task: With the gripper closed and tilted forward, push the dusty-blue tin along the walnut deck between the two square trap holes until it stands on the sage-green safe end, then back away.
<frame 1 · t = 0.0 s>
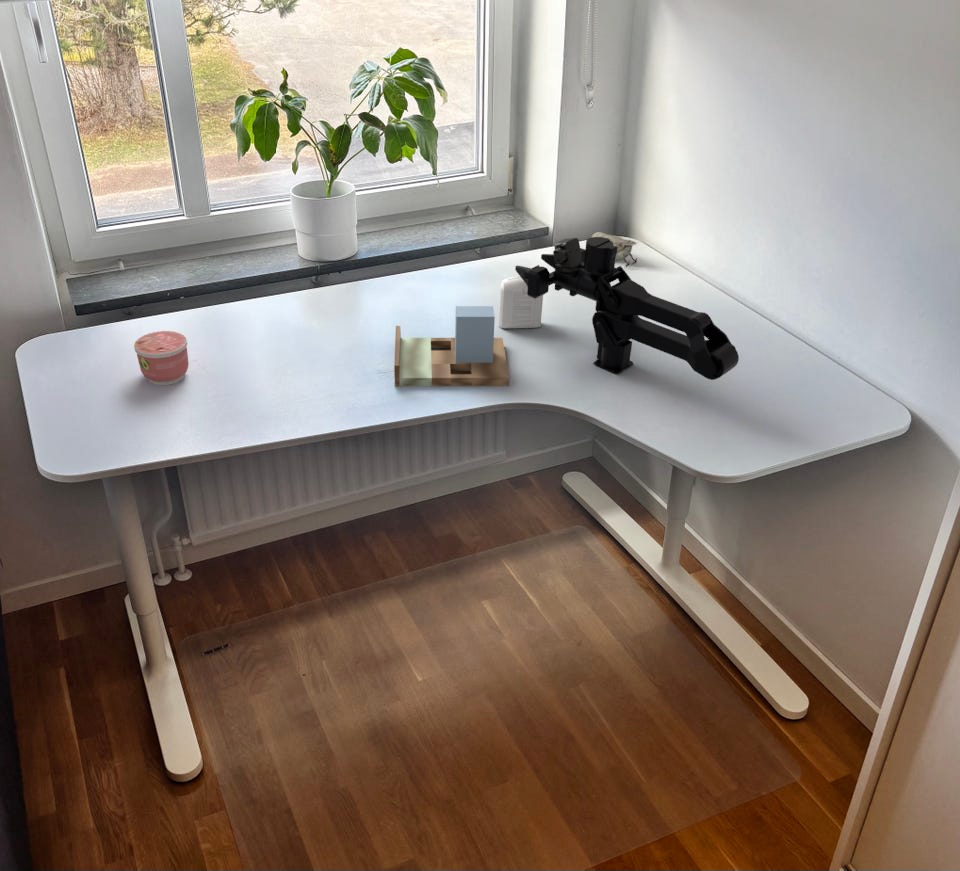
hand: (528, 261, 215), 17 cm above the table, tool horizontal, fingers open, 9 cm apart
deck: (455, 365, 208), on the table
container: (166, 376, 201), on the table
photo printer: (519, 326, 225), on the table
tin: (473, 357, 207), point 2 cm above the table, touching deck
decorative bird: (611, 259, 260), on the table
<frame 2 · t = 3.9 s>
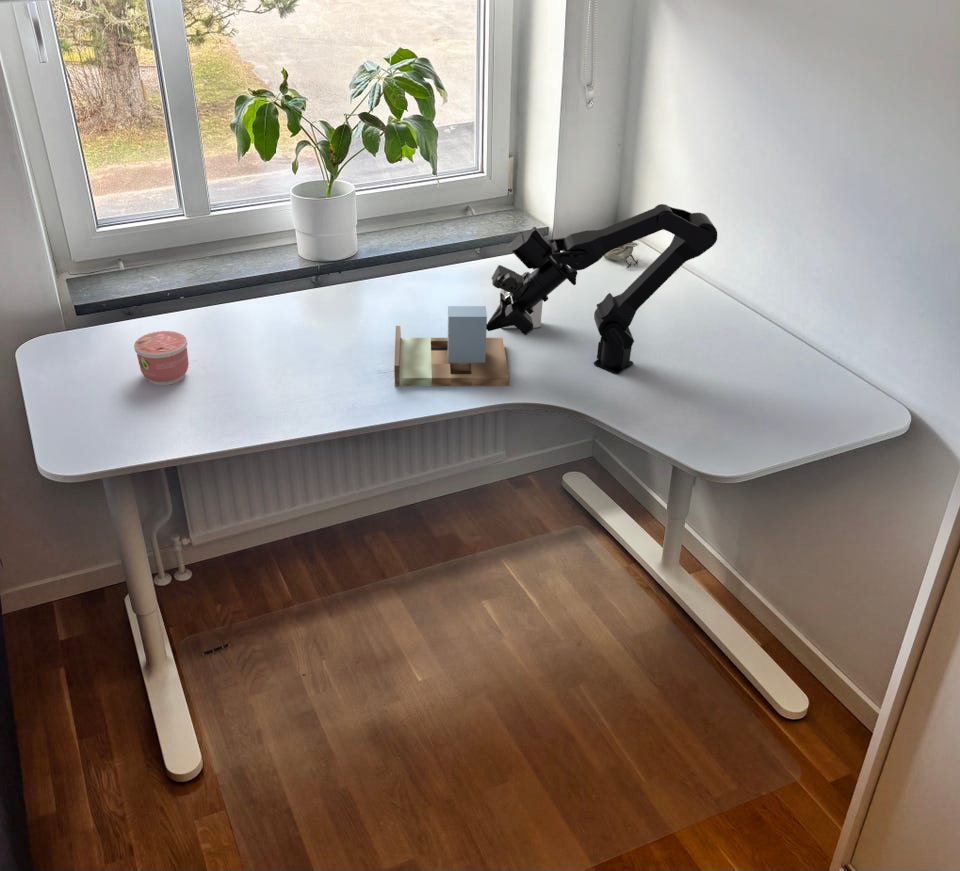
hand: (486, 329, 204), 9 cm above the table, tool tilted 45°, fingers closed
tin: (466, 357, 207), point 2 cm above the table
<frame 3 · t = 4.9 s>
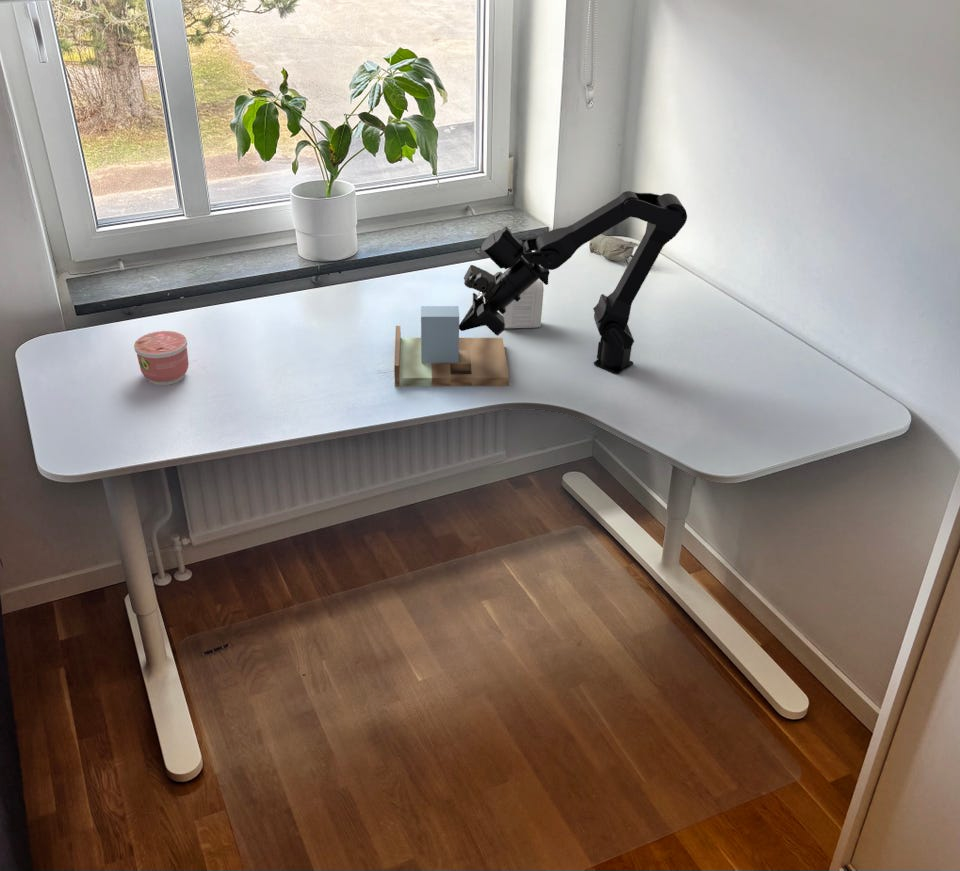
hand: (459, 328, 203), 9 cm above the table, tool tilted 45°, fingers closed
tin: (439, 357, 207), point 2 cm above the table
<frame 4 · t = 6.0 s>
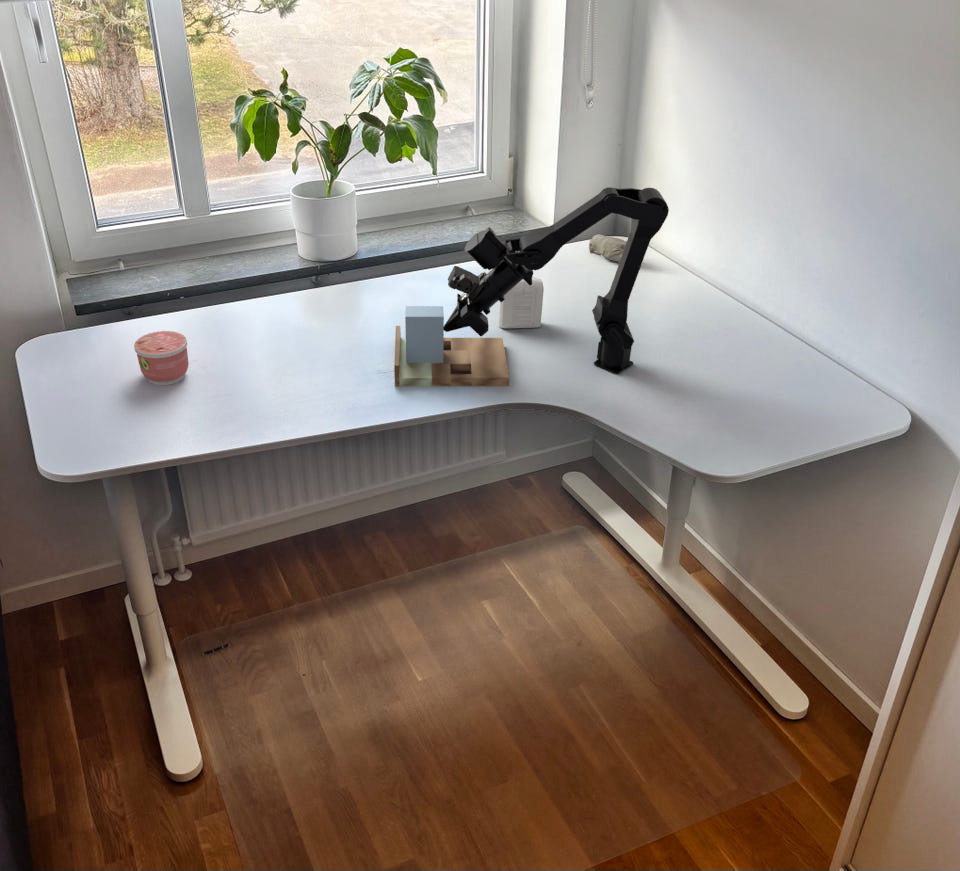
hand: (444, 329, 203), 9 cm above the table, tool tilted 45°, fingers closed, pressing on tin
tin: (424, 357, 207), point 2 cm above the table, touching deck, gripper
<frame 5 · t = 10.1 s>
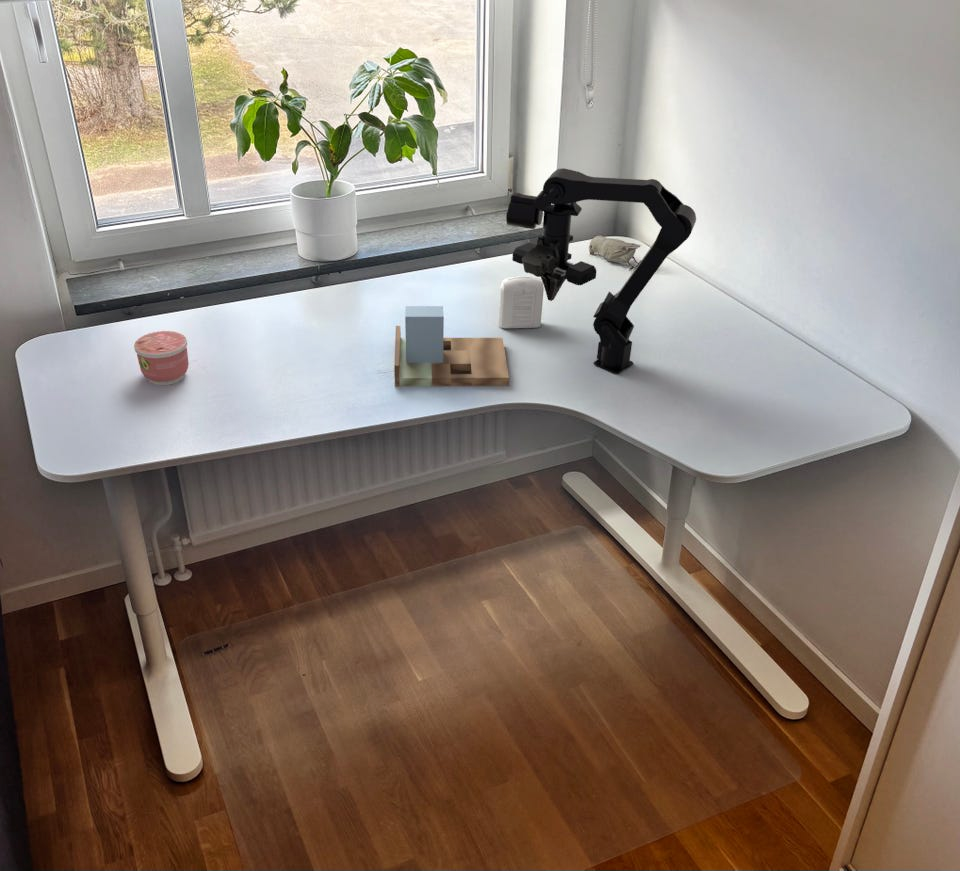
hand: (550, 299, 207), 13 cm above the table, tool pointing down, fingers closed
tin: (424, 357, 207), point 2 cm above the table, touching deck
at the end: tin inside the target area (0.7 cm from its centre), point 2.0 cm above the table; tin tilted 0°; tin moved 10.7 cm from its start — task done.
